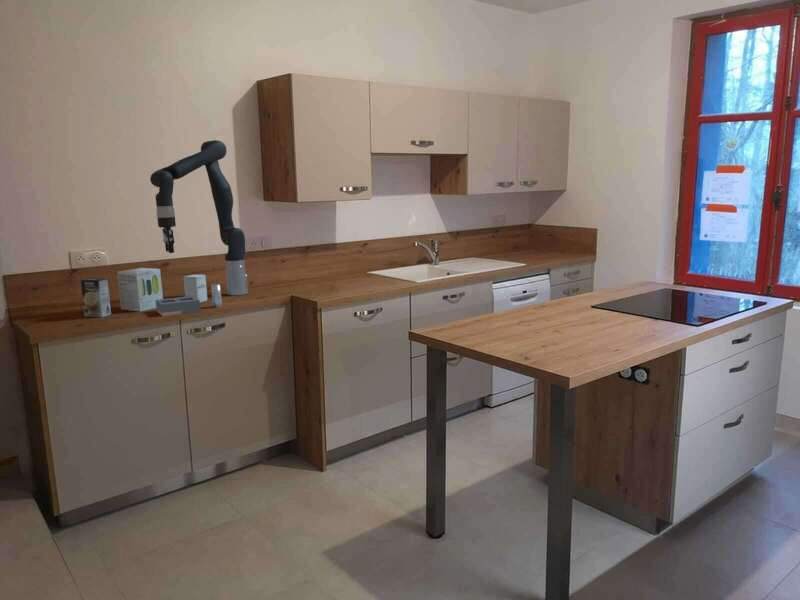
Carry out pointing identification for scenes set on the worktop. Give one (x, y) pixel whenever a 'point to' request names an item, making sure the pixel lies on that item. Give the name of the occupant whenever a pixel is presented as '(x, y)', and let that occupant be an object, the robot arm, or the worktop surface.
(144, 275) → the supplement box
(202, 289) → the supplement box
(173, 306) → the socket block
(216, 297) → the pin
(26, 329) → the worktop surface
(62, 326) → the worktop surface
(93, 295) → the coffee box
